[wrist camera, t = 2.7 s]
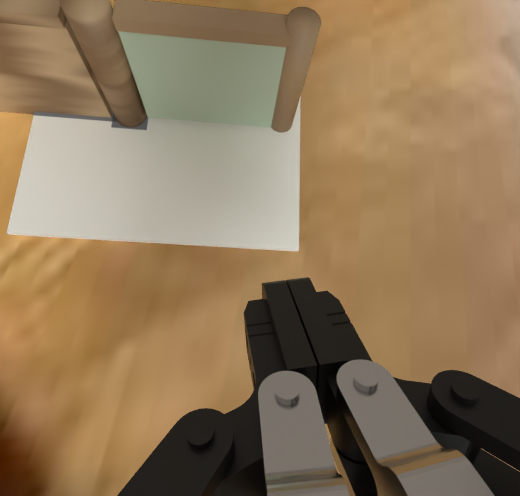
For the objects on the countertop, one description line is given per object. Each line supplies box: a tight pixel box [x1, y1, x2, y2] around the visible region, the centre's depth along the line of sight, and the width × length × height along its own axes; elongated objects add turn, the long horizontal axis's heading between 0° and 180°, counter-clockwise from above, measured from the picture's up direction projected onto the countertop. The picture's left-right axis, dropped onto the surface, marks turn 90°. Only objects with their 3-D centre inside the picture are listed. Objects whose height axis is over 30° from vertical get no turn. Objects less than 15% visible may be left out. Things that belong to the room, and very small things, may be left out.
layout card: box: [7, 99, 300, 252], centre depth 28 cm, size 20×17×1 cm
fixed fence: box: [0, 0, 147, 127], centre depth 23 cm, size 12×2×10 cm, turn 88°
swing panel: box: [112, 0, 321, 133], centre depth 24 cm, size 11×2×9 cm, turn 88°
